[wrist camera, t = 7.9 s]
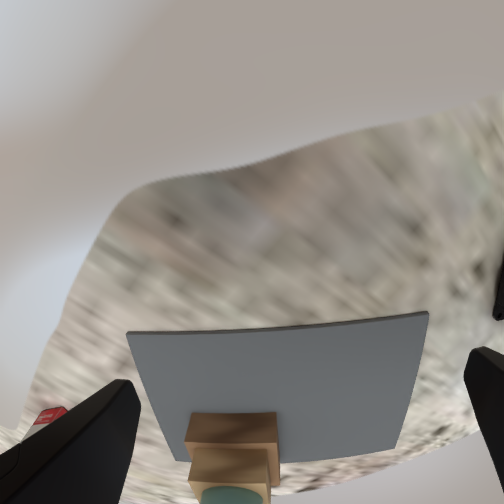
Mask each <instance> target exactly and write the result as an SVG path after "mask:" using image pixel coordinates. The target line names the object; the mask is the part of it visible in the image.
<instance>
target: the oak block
mask: <svg viewBox="0 0 504 504" xmlns="http://www.w3.org/2000/svg"><path fill="white" fill-rule="evenodd" d="M188 482H189V484H190V486H191V488H192V490H193V492H194V494H195V496H196V498H197V499H198V501H199V503H200V501H201V496H202V492H203V491H204V490H206V489H208V488H211V487H216V486H235V487H241V488H246V489H249V490H252V491H254V492H256V493H258V494H259V495H260V496H261V497H262V498H263V504H270V502H271V479H270V471H269V462H268V454H267V449H210V448H195V451H194V455H193V460H192V464H191V469H190V473H189V477H188Z"/></svg>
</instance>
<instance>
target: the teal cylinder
mask: <svg viewBox="0 0 504 504" xmlns="http://www.w3.org/2000/svg"><path fill="white" fill-rule="evenodd" d="M200 504H263V498H262V497H261V496H260V495H259V494H258V493H256V492H254V491H252V490H249V489H246V488H241V487H235V486H216V487H211V488H208V489H206V490H204V491H203V492H202V496H201V501H200Z"/></svg>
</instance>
